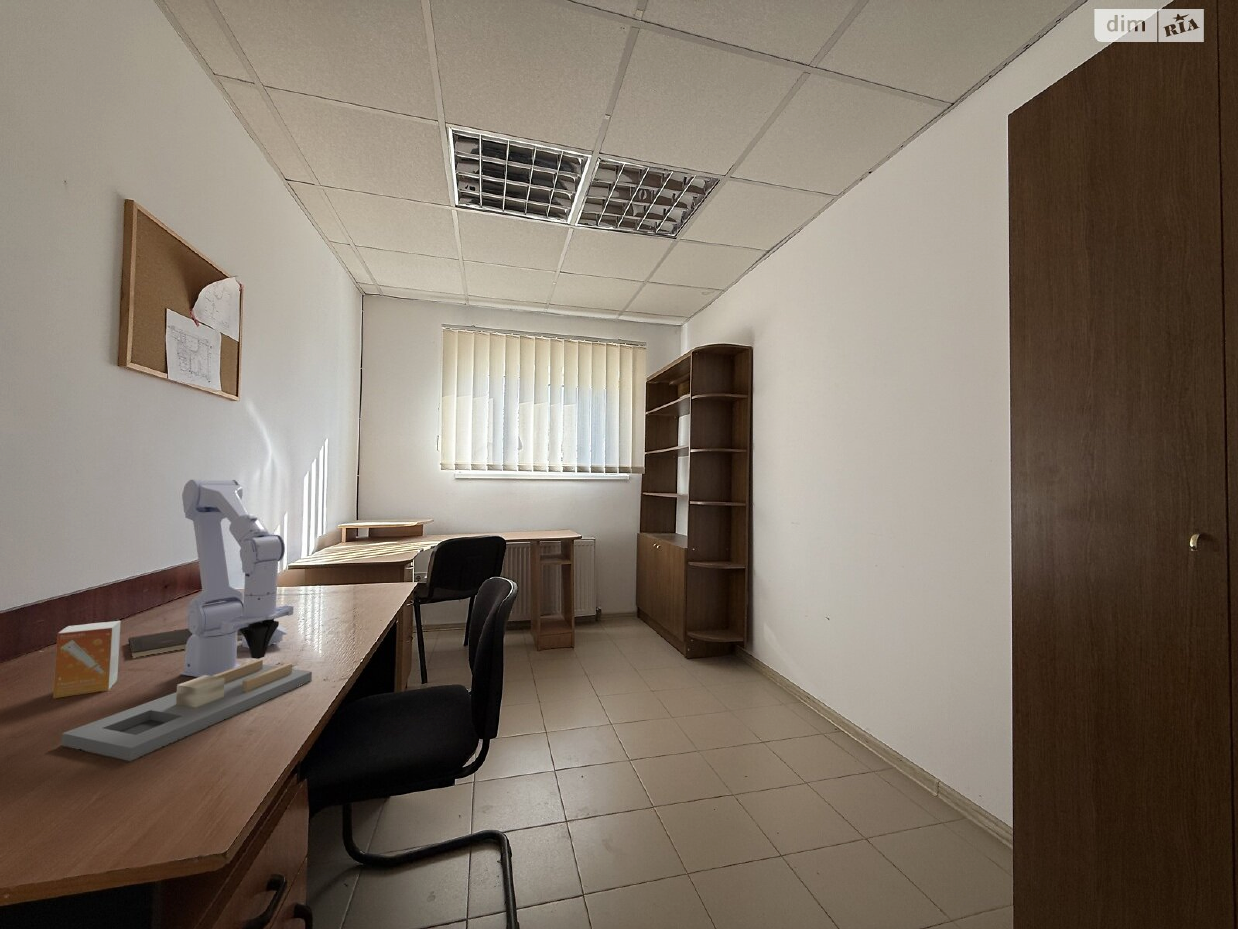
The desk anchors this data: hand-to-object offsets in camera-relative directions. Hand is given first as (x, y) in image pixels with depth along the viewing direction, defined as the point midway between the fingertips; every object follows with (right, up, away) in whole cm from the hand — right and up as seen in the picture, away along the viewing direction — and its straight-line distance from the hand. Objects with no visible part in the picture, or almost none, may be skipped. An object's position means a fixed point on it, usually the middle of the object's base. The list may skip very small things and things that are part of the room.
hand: (257, 657), depth 106 cm
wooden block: (-3, -4, -11) cm, 12 cm away
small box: (-34, -6, -3) cm, 34 cm away
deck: (-3, -6, -10) cm, 12 cm away
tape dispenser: (-18, -7, +28) cm, 34 cm away
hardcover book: (-40, -8, +29) cm, 50 cm away
